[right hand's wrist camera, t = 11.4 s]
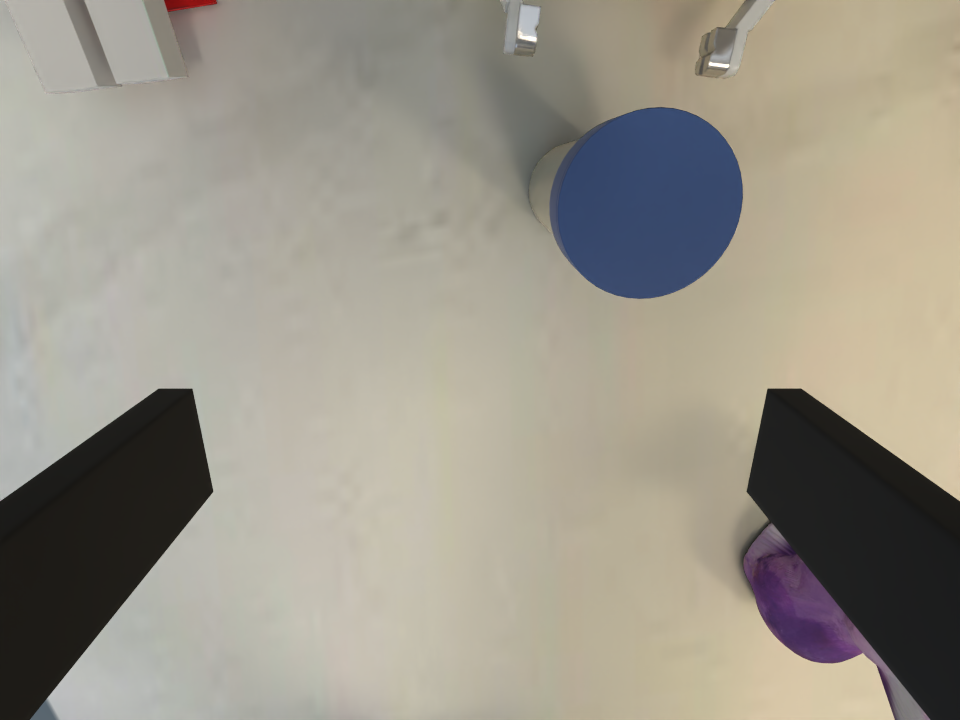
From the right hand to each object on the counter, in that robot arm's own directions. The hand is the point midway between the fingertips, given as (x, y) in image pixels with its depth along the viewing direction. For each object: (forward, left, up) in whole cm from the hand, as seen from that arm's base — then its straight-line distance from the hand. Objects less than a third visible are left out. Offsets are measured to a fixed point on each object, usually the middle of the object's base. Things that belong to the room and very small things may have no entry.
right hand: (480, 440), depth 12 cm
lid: (-1, -7, -8) cm, 11 cm away
